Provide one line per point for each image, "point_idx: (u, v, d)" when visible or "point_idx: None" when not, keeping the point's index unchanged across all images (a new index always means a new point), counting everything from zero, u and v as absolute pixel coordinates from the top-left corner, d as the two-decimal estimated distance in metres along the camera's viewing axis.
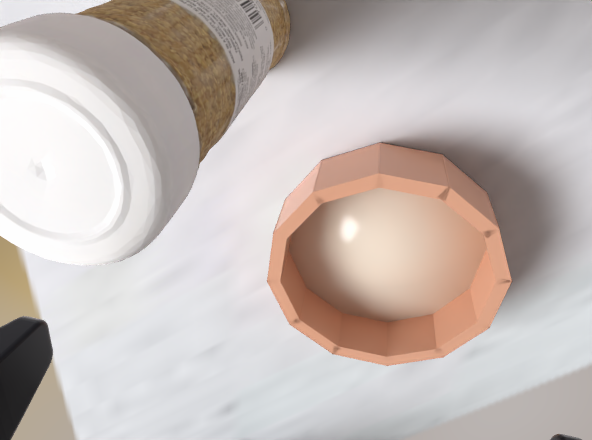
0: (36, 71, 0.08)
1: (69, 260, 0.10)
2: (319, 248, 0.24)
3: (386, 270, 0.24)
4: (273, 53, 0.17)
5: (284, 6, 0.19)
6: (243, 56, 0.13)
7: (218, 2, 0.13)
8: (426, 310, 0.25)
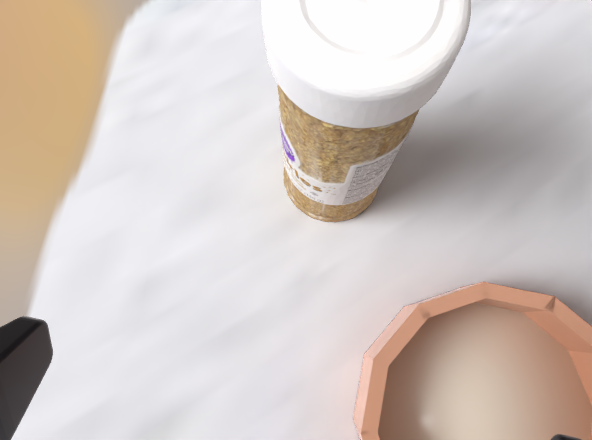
0: None
1: (361, 82, 0.10)
2: (406, 415, 0.21)
3: None
4: None
5: None
6: None
7: None
8: None
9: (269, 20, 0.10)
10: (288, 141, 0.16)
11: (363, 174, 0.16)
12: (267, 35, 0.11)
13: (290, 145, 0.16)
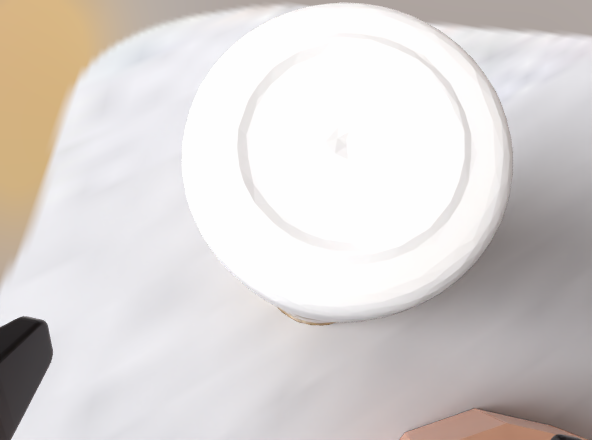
0: (384, 27, 0.07)
1: (336, 295, 0.06)
2: None
3: None
4: None
5: None
6: None
7: None
8: None
9: (190, 183, 0.06)
10: None
11: None
12: (189, 204, 0.07)
13: None
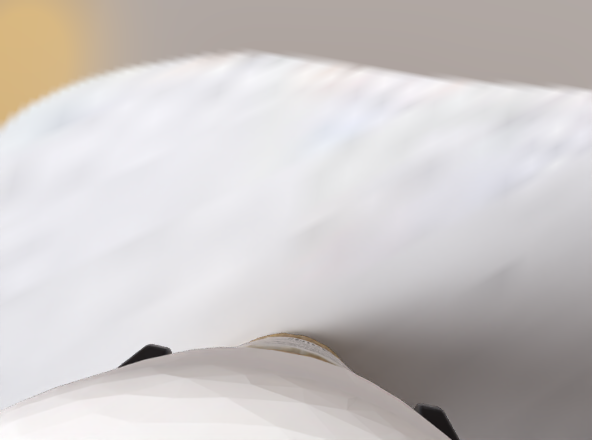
0: None
1: None
2: None
3: None
4: None
5: None
6: None
7: None
8: None
9: None
10: None
11: None
12: None
13: None
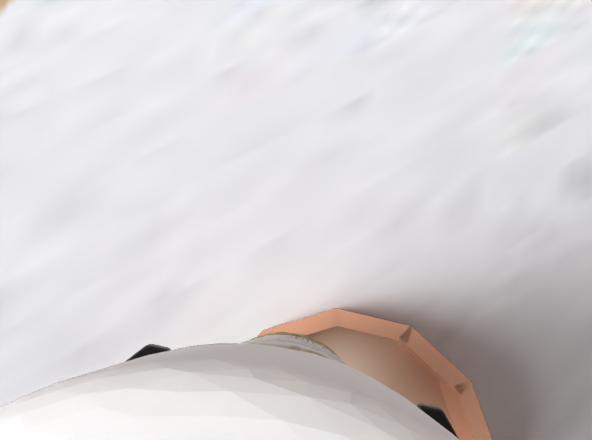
0: None
1: None
2: None
3: None
4: None
5: None
6: None
7: None
8: None
9: None
10: None
11: None
12: None
13: None
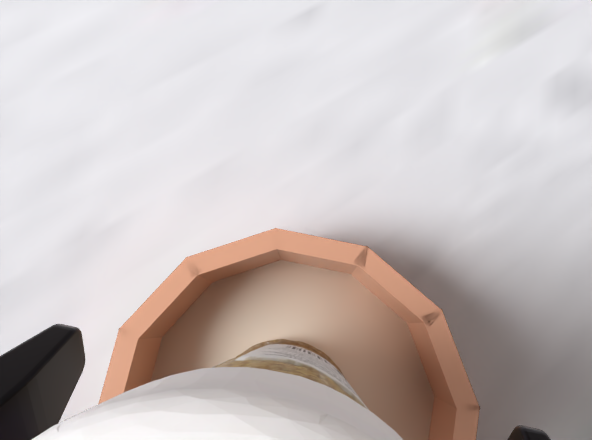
0: None
1: None
2: None
3: None
4: None
5: None
6: None
7: (344, 381, 0.10)
8: None
9: None
10: None
11: None
12: None
13: None
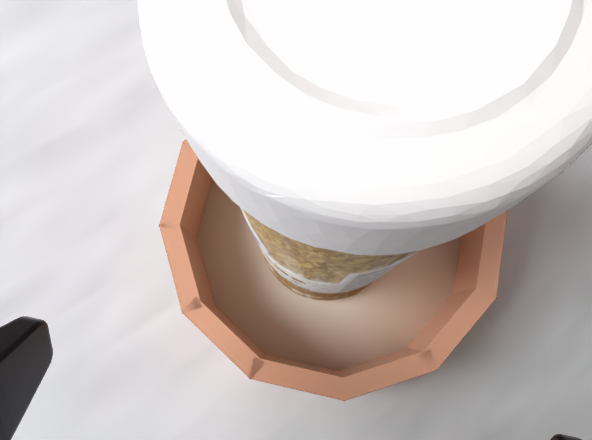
0: None
1: (373, 186, 0.04)
2: (241, 232, 0.17)
3: None
4: None
5: None
6: None
7: None
8: (396, 340, 0.16)
9: (148, 19, 0.04)
10: (247, 221, 0.09)
11: (370, 276, 0.10)
12: (147, 55, 0.04)
13: (250, 227, 0.10)
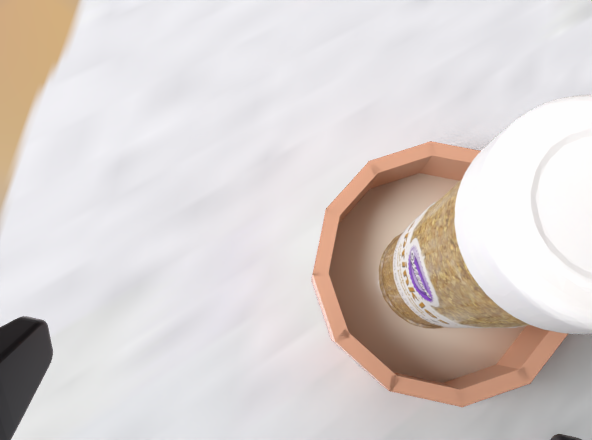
0: None
1: None
2: (360, 274, 0.22)
3: None
4: None
5: None
6: None
7: None
8: (487, 358, 0.21)
9: (495, 233, 0.09)
10: (432, 289, 0.14)
11: None
12: (489, 247, 0.09)
13: (433, 293, 0.14)
